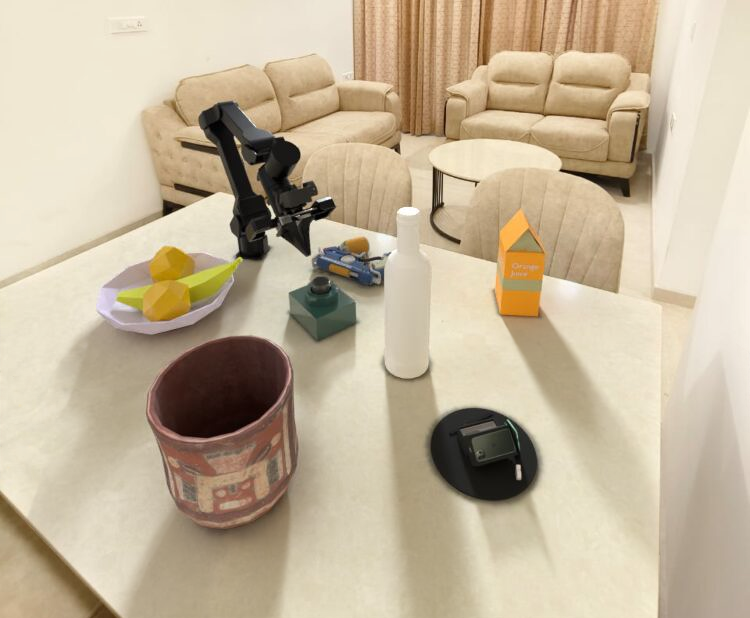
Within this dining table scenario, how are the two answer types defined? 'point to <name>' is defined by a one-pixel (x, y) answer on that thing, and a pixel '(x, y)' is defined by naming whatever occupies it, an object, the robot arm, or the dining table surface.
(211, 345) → the pottery
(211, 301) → the fruit bowl
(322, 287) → the dark grey button cap
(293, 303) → the button housing
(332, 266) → the blue toy blaster
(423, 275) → the bottle
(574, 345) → the dining table surface
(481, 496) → the black round electronic device
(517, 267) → the orange juice
